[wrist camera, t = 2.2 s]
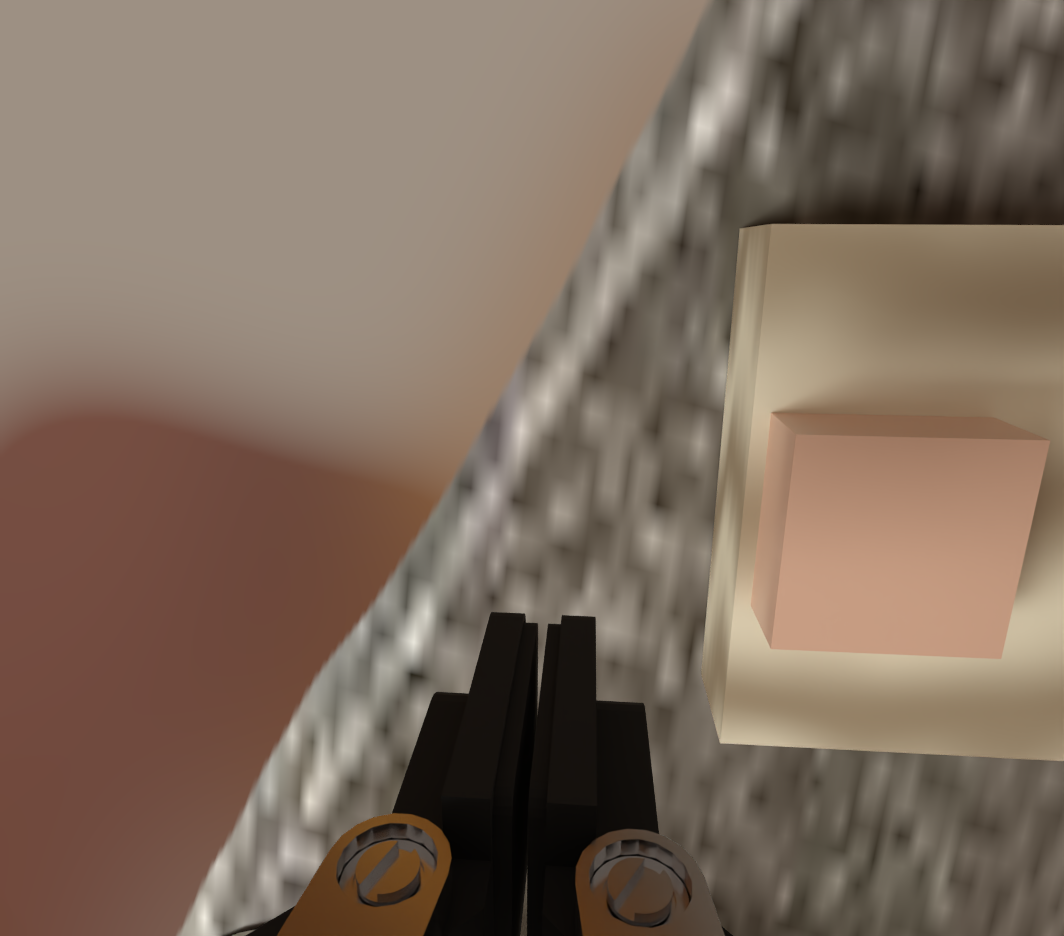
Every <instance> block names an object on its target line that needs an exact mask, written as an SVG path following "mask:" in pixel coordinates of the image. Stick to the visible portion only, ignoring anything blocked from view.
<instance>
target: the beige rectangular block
mask: <svg viewBox="0 0 1064 936" xmlns="http://www.w3.org/2000/svg"><path fill="white" fill-rule="evenodd" d="M771 413H815V414H861V415H908V416H954V417H994V418H997V419H999V420H1002V421H1004V422H1006V423H1009V424H1011V425H1014V426H1016V427H1019V428H1021V429H1024V430H1026V431H1029V432H1031V433H1033V434H1036V435H1038V436H1041V437H1043V438H1046V439H1048V440H1050V445H1049V449H1048V453H1047V458H1046V462H1045V467H1044V471H1043V476H1042V480H1041V485H1040V489H1039V493H1038V498H1037V502H1036V507H1035V511H1034V516H1033V520H1032V524H1031V529H1030V533H1029V538H1028V542H1027V547H1026V551H1025V556H1024V560H1023V564H1022V569H1021V573H1020V578H1019V582H1018V587H1017V591H1016V595H1015V600H1014V604H1013V609H1012V613H1011V618H1010V622H1009V627H1008V631H1007V635H1006V640H1005V644H1004V649H1003V653H1002V658H1001V659H988V658H965V657H942V656H918V655H895V654H872V653H849V652H826V651H803V650H780V649H771V648H770V646H769V644H768V642H767V640H766V638H765V636H764V633H763V631H762V629H761V627H760V625H759V623H758V620H757V618H756V616H755V614H754V612H753V610H752V608H751V596H752V587H753V578H754V568H755V559H756V549H757V540H758V531H759V521H760V512H761V502H762V493H763V483H764V474H765V465H766V455H767V446H768V436H769V427H770V418H771ZM701 675H702V678H703V682H704V686H705V689H706V693H707V697H708V700H709V704H710V708H711V711H712V715H713V719H714V722H715V726H716V730H717V733H718V737H719V741H720V743H727V744H746V745H765V746H784V747H803V748H823V749H842V750H861V751H880V752H899V753H919V754H938V755H957V756H976V757H995V758H1015V759H1034V760H1053V761H1064V225H898V224H768V225H761V226H754V227H747V228H740V232H739V244H738V255H737V267H736V278H735V290H734V301H733V313H732V324H731V336H730V348H729V359H728V371H727V382H726V394H725V405H724V417H723V428H722V440H721V451H720V463H719V474H718V486H717V498H716V509H715V521H714V532H713V544H712V555H711V567H710V578H709V590H708V601H707V613H706V625H705V636H704V648H703V659H702V671H701Z"/></svg>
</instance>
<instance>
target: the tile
mask: <svg viewBox="0 0 1064 936" xmlns="http://www.w3.org/2000/svg"><path fill="white" fill-rule="evenodd" d="M1049 445H1050V440H1048V439H1046V438H1043V437H1041V436H1038V435H1036V434H1033V433H1031V432H1029V431H1026V430H1024V429H1021V428H1019V427H1016V426H1014V425H1011V424H1009V423H1006V422H1004V421H1002V420H999V419H997V418H994V417H954V416H908V415H861V414H815V413H771V418H770V427H769V436H768V446H767V455H766V465H765V474H764V483H763V493H762V502H761V512H760V521H759V531H758V540H757V549H756V559H755V568H754V578H753V587H752V596H751V608H752V610H753V612H754V614H755V616H756V618H757V620H758V623H759V625H760V627H761V629H762V631H763V633H764V636H765V638H766V640H767V642H768V644H769V646H770V648H771V649H780V650H803V651H826V652H849V653H872V654H895V655H918V656H942V657H965V658H988V659H1001V658H1002V653H1003V649H1004V644H1005V640H1006V635H1007V631H1008V627H1009V622H1010V618H1011V613H1012V609H1013V604H1014V600H1015V595H1016V591H1017V587H1018V582H1019V578H1020V573H1021V569H1022V564H1023V560H1024V556H1025V551H1026V547H1027V542H1028V538H1029V533H1030V529H1031V524H1032V520H1033V516H1034V511H1035V507H1036V502H1037V498H1038V493H1039V489H1040V485H1041V480H1042V476H1043V471H1044V467H1045V462H1046V458H1047V453H1048V449H1049Z"/></svg>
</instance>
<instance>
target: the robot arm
mask: <svg viewBox="0 0 1064 936" xmlns="http://www.w3.org/2000/svg"><path fill="white" fill-rule="evenodd" d="M537 696H538V623H526V618H525V614H521V613H499V612H491V614H490V617H489V621H488V625H487V628H486V632H485V636H484V639H483V643H482V647H481V651H480V654H479V658H478V662H477V665H476V669H475V673H474V677H473V680H472V684H471V688H470V691H469V694H465V693H446V692H436V693H435V694H434V695H433V697H432V700H431V702H430V705H429V708H428V711H427V714H426V717H425V719H424V722H423V725H422V728H421V731H420V734H419V737H418V740H417V743H416V745H415V748H414V751H413V754H412V757H411V760H410V763H409V766H408V769H407V771H406V774H405V777H404V780H403V783H402V786H401V789H400V792H399V795H398V797H397V800H396V803H395V806H394V809H393V812H392V814H387V815H381V816H375V817H373V818H370V819H368V820H366V821H363V822H361V823H359V824H357V825H355V826H354V827H353V828H351V829H350V830H348V831H347V832H346V833H344V834H343V835H342V836H341V837H340V838H339V839H338V840H337V842H336V843H335V844H334V845H333V846H332V848H331V849H330V850H329V852H328V853H327V855H326V857H325V858H324V860H323V861H322V863H321V865H320V866H319V868H318V870H317V871H316V873H315V874H314V876H313V878H312V879H311V881H310V883H309V884H308V886H307V887H306V889H305V891H304V892H303V894H302V896H301V897H300V899H299V900H298V902H297V904H296V905H295V906H294V907H293V908H291V909H289V910H287V911H286V912H284V913H282V914H281V915H279V916H277V917H276V918H274V919H272V920H271V921H269V922H267V923H266V924H264V925H262V926H261V927H259V928H257V929H255V930H251V931H246V932H241V933H237V934H235V935H232V936H520V932H521V923H522V913H523V903H524V894H525V884H526V874H527V936H733V935H731V934H730V933H729V932H728V931H727V930H725V929H724V928H723V927H722V926H721V923H720V920H719V918H718V915H717V912H716V909H715V906H714V903H713V900H712V897H711V895H710V892H709V889H708V886H707V883H706V880H705V877H704V875H703V873H702V872H701V870H700V868H699V866H698V864H697V862H696V860H695V859H694V858H693V857H692V856H691V855H690V854H689V853H688V852H687V851H686V850H685V849H684V848H683V847H682V846H680V845H679V844H677V843H676V842H674V841H672V840H671V839H669V838H667V837H666V836H663V835H660V834H659V830H658V821H657V812H656V803H655V794H654V785H653V776H652V767H651V758H650V749H649V740H648V731H647V722H646V713H645V706H644V704H643V703H632V702H614V701H596V618H595V617H588V616H566V615H562V619H561V624H548V629H547V638H546V647H545V655H544V664H543V673H542V682H541V690H540V699H539V708H538V717H537Z"/></svg>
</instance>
